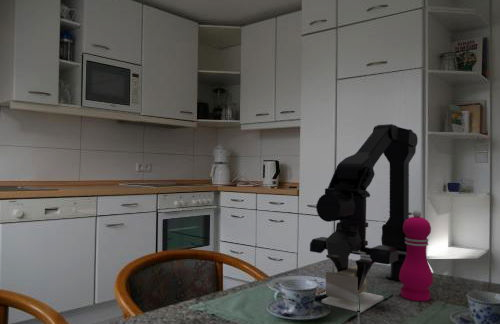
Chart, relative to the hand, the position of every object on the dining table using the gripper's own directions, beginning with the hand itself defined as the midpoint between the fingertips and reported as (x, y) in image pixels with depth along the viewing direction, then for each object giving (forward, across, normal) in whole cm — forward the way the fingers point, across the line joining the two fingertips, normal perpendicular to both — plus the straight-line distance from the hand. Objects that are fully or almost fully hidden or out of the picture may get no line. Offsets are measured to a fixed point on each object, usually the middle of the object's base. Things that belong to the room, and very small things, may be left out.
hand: (351, 288), depth 91 cm
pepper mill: (+3, +10, +12) cm, 16 cm away
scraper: (+1, 0, 0) cm, 1 cm away
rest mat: (+3, 0, 0) cm, 3 cm away
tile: (+2, -9, 0) cm, 10 cm away
